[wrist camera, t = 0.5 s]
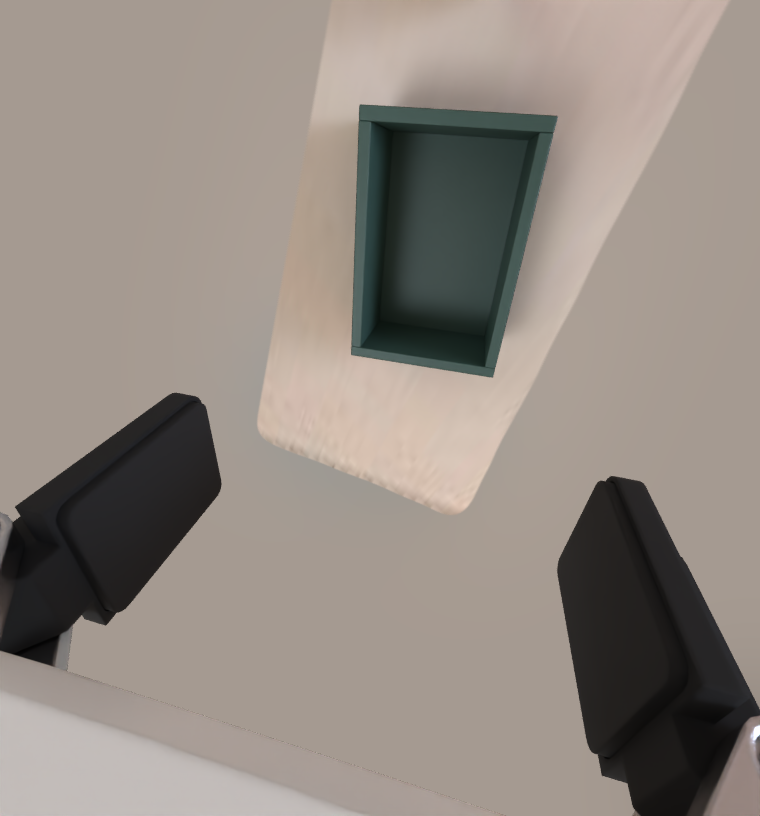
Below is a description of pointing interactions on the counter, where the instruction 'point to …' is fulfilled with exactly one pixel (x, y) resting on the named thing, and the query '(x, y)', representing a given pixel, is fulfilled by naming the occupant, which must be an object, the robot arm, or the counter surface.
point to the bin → (442, 231)
